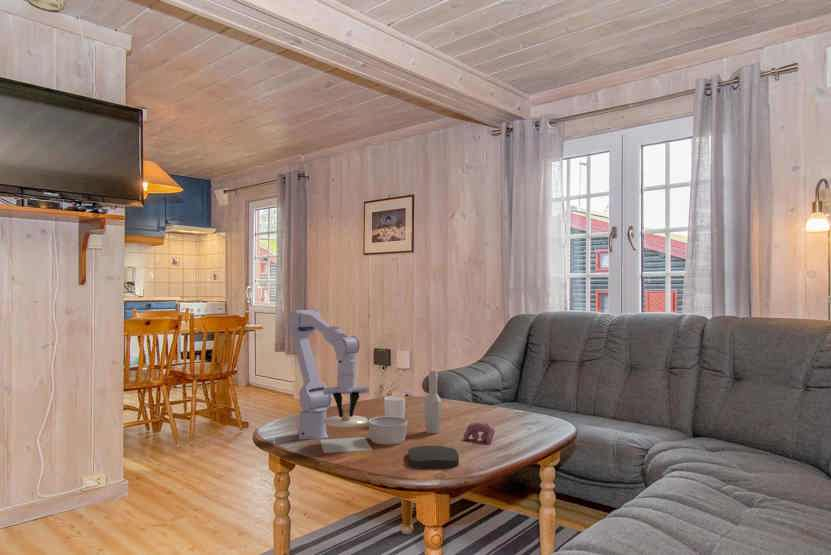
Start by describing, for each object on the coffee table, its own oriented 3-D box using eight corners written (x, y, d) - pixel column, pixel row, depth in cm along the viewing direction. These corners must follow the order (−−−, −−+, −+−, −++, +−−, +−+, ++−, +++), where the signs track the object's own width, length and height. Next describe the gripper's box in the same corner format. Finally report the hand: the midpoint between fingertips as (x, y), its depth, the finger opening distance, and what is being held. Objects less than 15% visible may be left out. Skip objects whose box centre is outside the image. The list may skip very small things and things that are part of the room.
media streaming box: (409, 469, 161) (409, 459, 161) (407, 454, 175) (407, 444, 175) (460, 469, 162) (460, 458, 162) (453, 453, 176) (453, 444, 176)
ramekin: (399, 448, 180) (399, 427, 180) (361, 444, 184) (361, 423, 185) (412, 438, 193) (413, 418, 193) (377, 434, 197) (377, 414, 197)
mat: (324, 454, 173) (324, 452, 173) (319, 440, 188) (319, 439, 188) (372, 451, 177) (372, 449, 177) (364, 438, 192) (364, 437, 192)
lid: (326, 428, 173) (326, 415, 174) (321, 418, 187) (321, 406, 187) (371, 425, 177) (371, 412, 177) (363, 416, 191) (363, 404, 191)
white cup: (402, 428, 206) (402, 400, 206) (381, 426, 208) (381, 399, 208) (407, 423, 214) (407, 396, 214) (386, 421, 215) (387, 395, 215)
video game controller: (493, 446, 189) (497, 426, 192) (488, 443, 185) (492, 422, 188) (466, 442, 194) (470, 422, 197) (461, 439, 190) (465, 418, 193)
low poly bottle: (440, 435, 197) (440, 371, 197) (422, 433, 198) (422, 371, 199) (442, 430, 203) (443, 369, 204) (425, 429, 205) (426, 368, 205)
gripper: (324, 376, 177) (324, 420, 177) (370, 375, 180) (370, 418, 180) (322, 373, 184) (322, 415, 183) (367, 372, 187) (366, 413, 187)
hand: (345, 416), depth 182 cm, fingers closed on lid, 3 cm apart
